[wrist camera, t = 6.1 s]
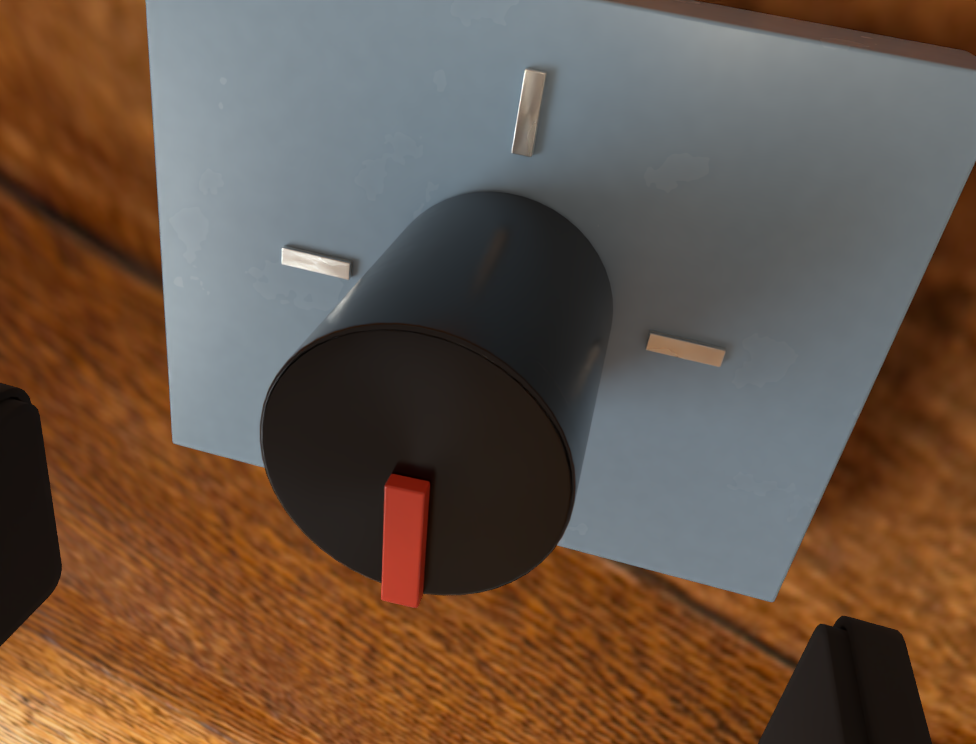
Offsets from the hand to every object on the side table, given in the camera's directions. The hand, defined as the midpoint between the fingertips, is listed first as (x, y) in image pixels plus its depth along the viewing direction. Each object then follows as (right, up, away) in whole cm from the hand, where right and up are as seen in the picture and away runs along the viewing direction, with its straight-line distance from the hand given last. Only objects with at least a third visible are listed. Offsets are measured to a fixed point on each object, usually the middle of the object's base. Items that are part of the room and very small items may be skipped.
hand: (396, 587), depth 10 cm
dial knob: (+1, +4, +6) cm, 7 cm away
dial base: (+2, +5, +8) cm, 10 cm away
